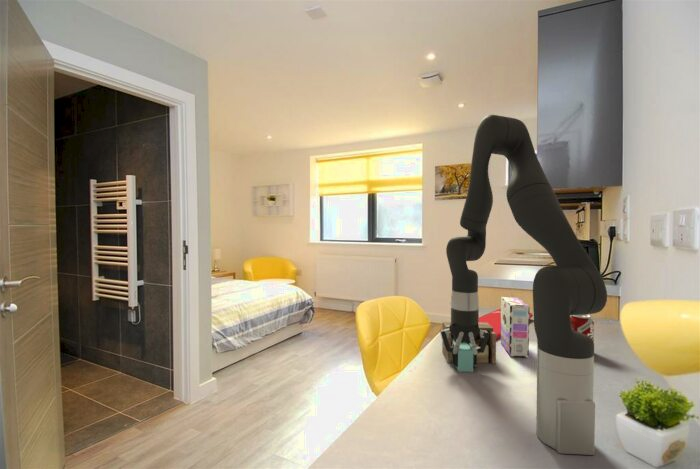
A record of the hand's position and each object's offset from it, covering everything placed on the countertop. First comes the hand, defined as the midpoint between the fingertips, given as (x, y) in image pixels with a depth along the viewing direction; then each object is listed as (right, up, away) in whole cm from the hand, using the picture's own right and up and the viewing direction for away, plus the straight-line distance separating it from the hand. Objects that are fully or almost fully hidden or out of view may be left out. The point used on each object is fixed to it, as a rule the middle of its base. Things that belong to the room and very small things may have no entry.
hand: (464, 365), depth 102 cm
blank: (0, -1, +4) cm, 4 cm away
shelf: (+4, -1, +8) cm, 9 cm away
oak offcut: (+7, -1, +8) cm, 11 cm away
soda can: (+42, -1, +14) cm, 44 cm away
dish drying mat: (+28, -1, +44) cm, 52 cm away
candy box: (+21, -1, +15) cm, 26 cm away
